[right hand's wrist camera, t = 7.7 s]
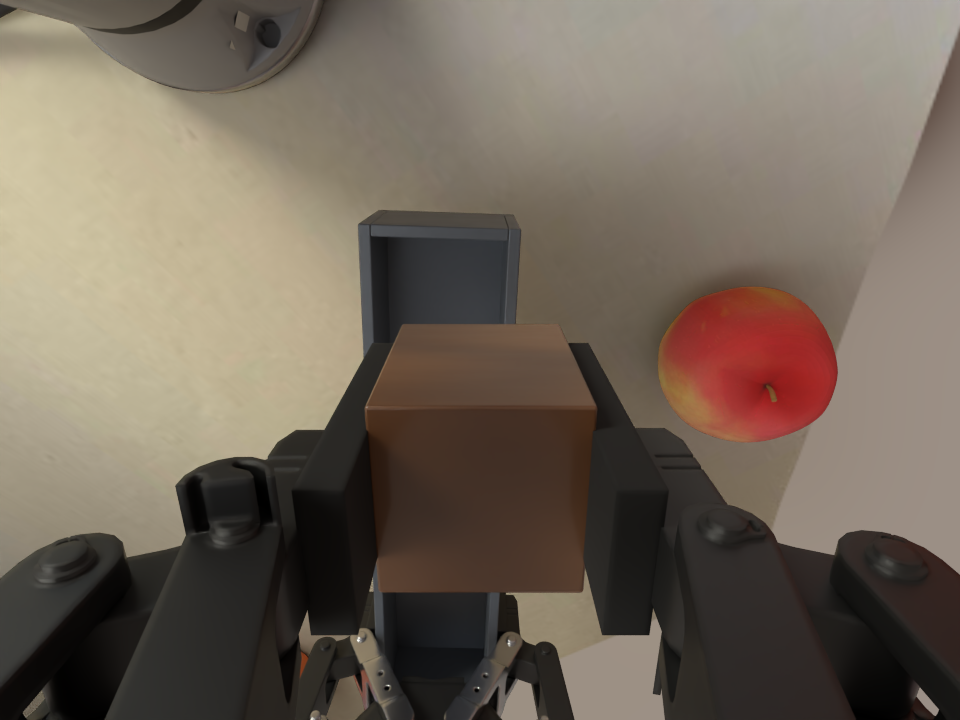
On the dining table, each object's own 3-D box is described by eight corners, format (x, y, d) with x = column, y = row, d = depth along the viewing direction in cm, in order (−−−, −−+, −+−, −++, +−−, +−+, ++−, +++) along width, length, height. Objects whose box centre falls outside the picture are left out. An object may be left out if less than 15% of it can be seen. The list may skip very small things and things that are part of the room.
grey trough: (391, 644, 38) (378, 715, 33) (377, 209, 27) (357, 223, 23) (490, 646, 38) (492, 718, 33) (514, 214, 28) (521, 229, 23)
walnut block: (408, 462, 16) (378, 594, 11) (401, 323, 14) (363, 406, 10) (552, 462, 16) (583, 594, 11) (559, 323, 14) (598, 406, 10)
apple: (664, 256, 38) (724, 294, 29) (798, 282, 39) (900, 327, 29) (624, 385, 41) (666, 457, 32) (748, 408, 42) (825, 484, 33)
